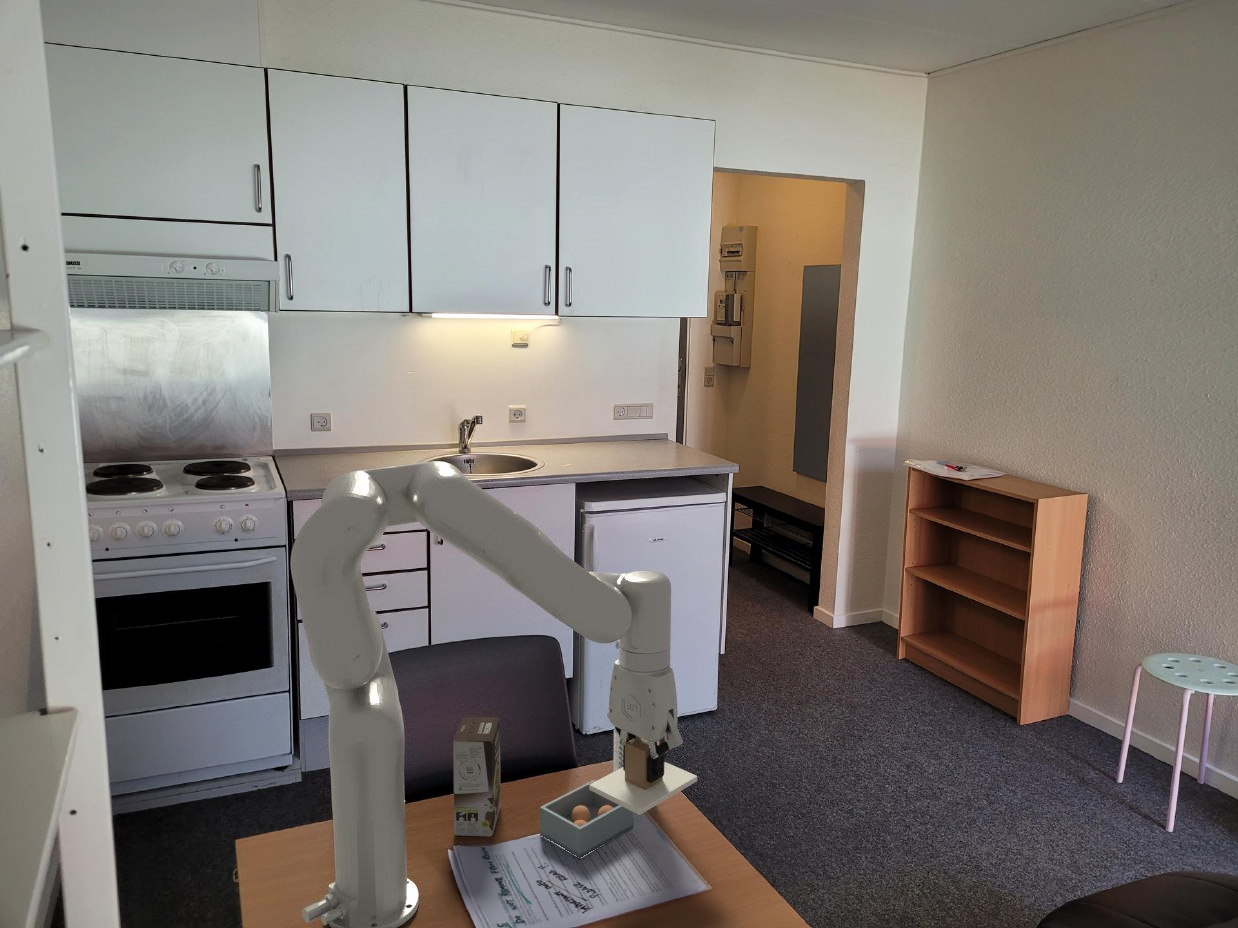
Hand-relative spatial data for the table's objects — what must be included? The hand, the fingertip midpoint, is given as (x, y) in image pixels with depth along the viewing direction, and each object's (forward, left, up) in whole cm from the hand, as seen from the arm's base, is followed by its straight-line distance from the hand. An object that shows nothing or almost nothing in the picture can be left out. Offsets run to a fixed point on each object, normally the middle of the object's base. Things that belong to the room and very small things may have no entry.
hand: (643, 772), depth 137 cm
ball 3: (+3, +10, -12) cm, 16 cm away
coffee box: (-10, +27, -15) cm, 32 cm away
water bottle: (+12, +13, -15) cm, 23 cm away
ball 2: (-3, +10, -12) cm, 16 cm away
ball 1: (0, +13, -12) cm, 18 cm away
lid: (0, 0, -2) cm, 2 cm away
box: (0, +12, -14) cm, 19 cm away
